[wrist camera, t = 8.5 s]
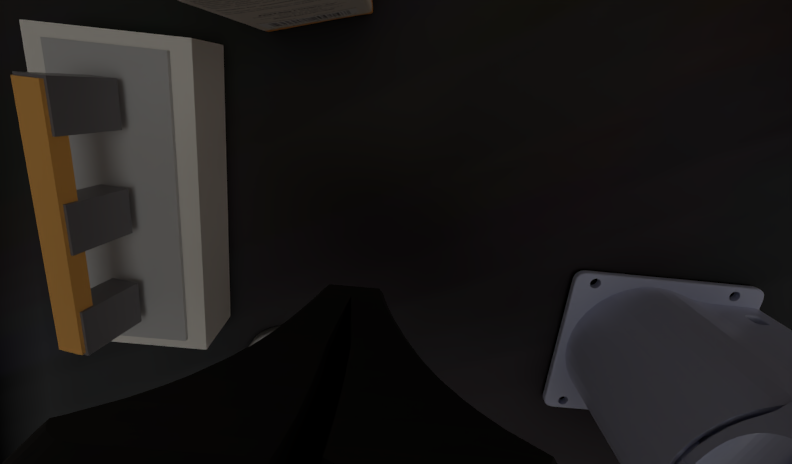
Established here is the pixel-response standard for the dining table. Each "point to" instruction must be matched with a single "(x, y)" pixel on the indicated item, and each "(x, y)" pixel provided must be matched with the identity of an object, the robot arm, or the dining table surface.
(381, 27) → the dining table surface
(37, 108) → the bar
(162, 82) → the tray
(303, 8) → the supplement box
